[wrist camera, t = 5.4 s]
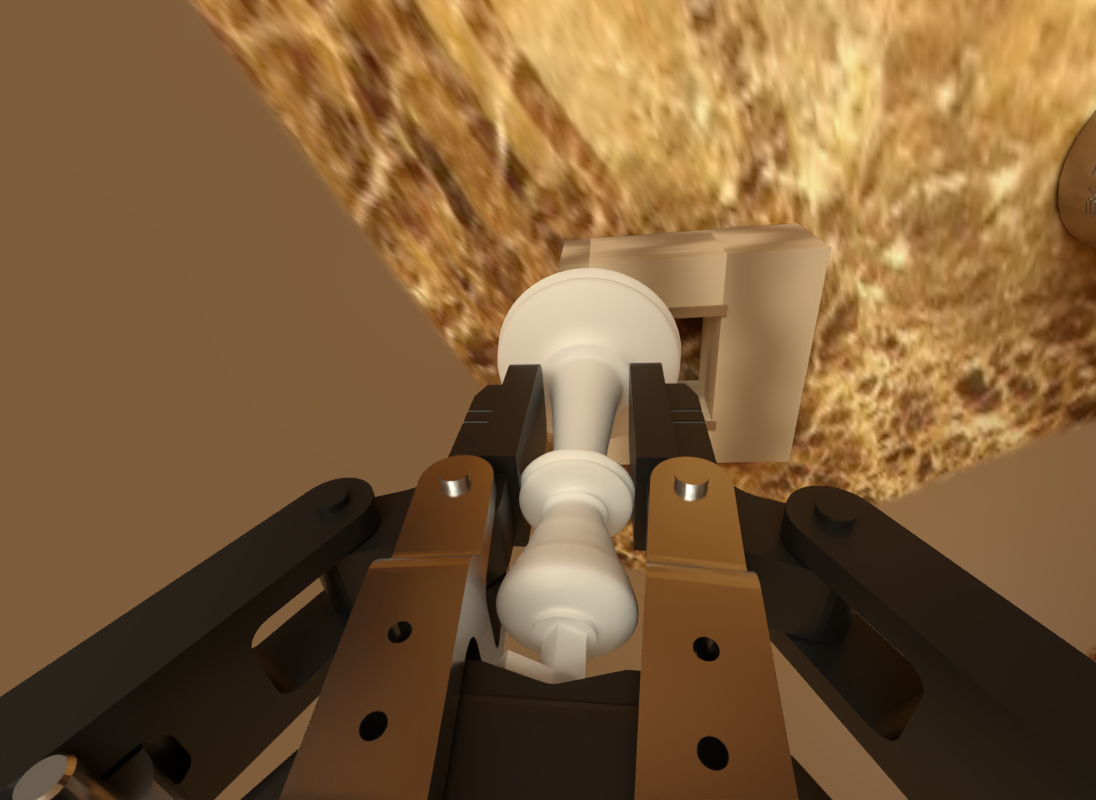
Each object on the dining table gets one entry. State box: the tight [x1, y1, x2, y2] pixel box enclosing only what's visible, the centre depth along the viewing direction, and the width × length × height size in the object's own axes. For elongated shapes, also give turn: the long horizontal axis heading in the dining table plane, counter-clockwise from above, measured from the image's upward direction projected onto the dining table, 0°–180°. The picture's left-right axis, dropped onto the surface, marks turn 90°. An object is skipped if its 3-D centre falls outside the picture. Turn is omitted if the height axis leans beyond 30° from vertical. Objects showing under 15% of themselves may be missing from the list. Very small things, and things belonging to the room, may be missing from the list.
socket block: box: [559, 223, 831, 465], centre depth 28 cm, size 12×12×5 cm
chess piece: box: [495, 268, 681, 684], centre depth 10 cm, size 5×5×10 cm
